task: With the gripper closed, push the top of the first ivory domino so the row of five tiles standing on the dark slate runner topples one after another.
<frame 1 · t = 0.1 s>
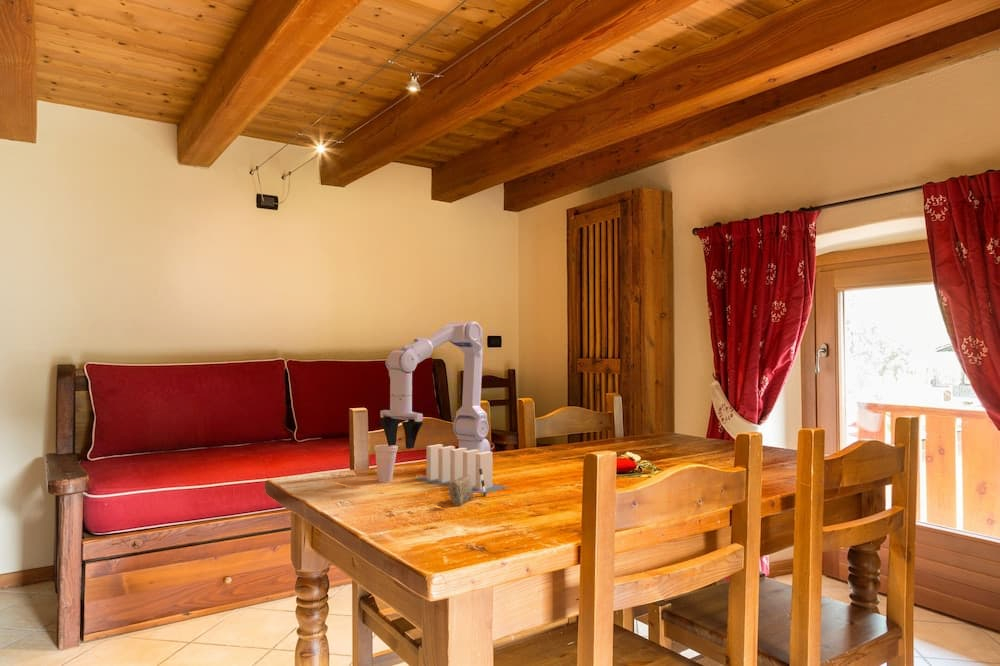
hand: (400, 446, 169), 10 cm above the table, tool pointing down, fingers open, 7 cm apart
runner mat: (458, 484, 170), on the table
domino 1: (434, 478, 175), resting on runner mat
domino 3: (458, 482, 170), resting on runner mat
domino 5: (484, 487, 164), resting on runner mat
domino 4: (471, 485, 167), resting on runner mat
smoothie: (384, 482, 172), on the table, touching gripper
cuneiform tablet: (467, 503, 151), on the table
domino 2: (446, 480, 172), resting on runner mat
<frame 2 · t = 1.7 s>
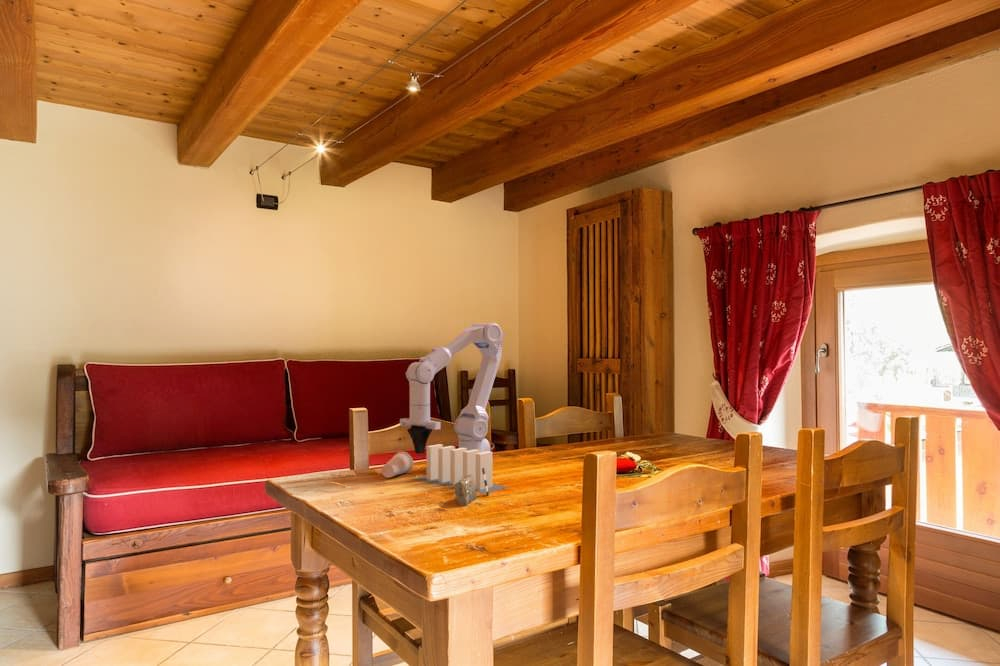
hand: (419, 453, 179), 7 cm above the table, tool pointing down, fingers closed
smoothie: (387, 471, 174), point 3 cm above the table
cuneiform tablet: (472, 502, 152), on the table
everything else where it was.
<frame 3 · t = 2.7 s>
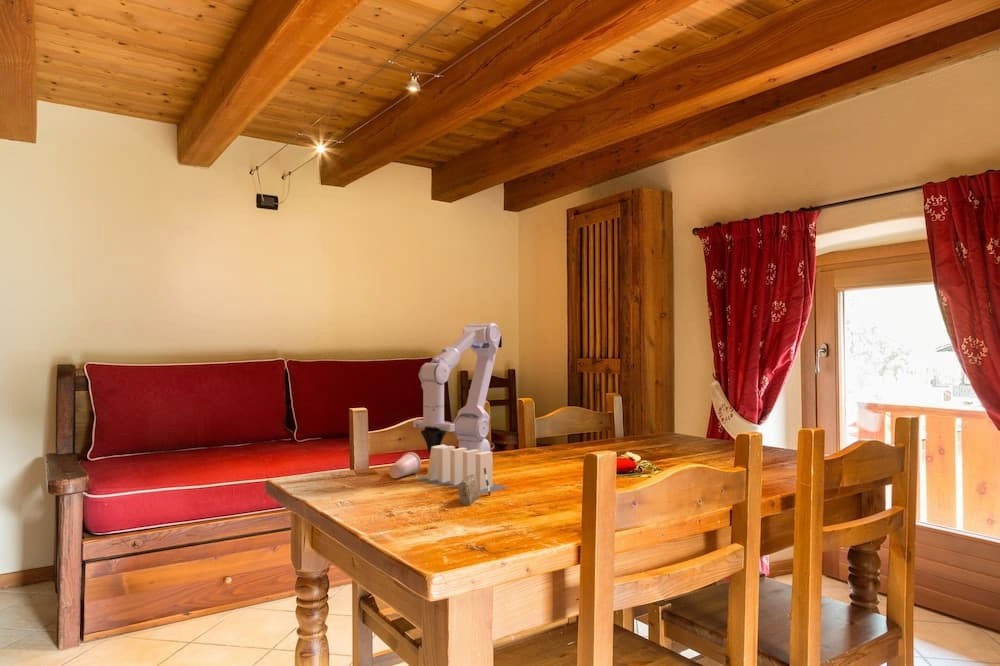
hand: (433, 455, 176), 7 cm above the table, tool pointing down, fingers closed
domino 1: (434, 477, 175), point 1 cm above the table, tilted 12°, touching runner mat
smoothie: (394, 471, 173), point 3 cm above the table
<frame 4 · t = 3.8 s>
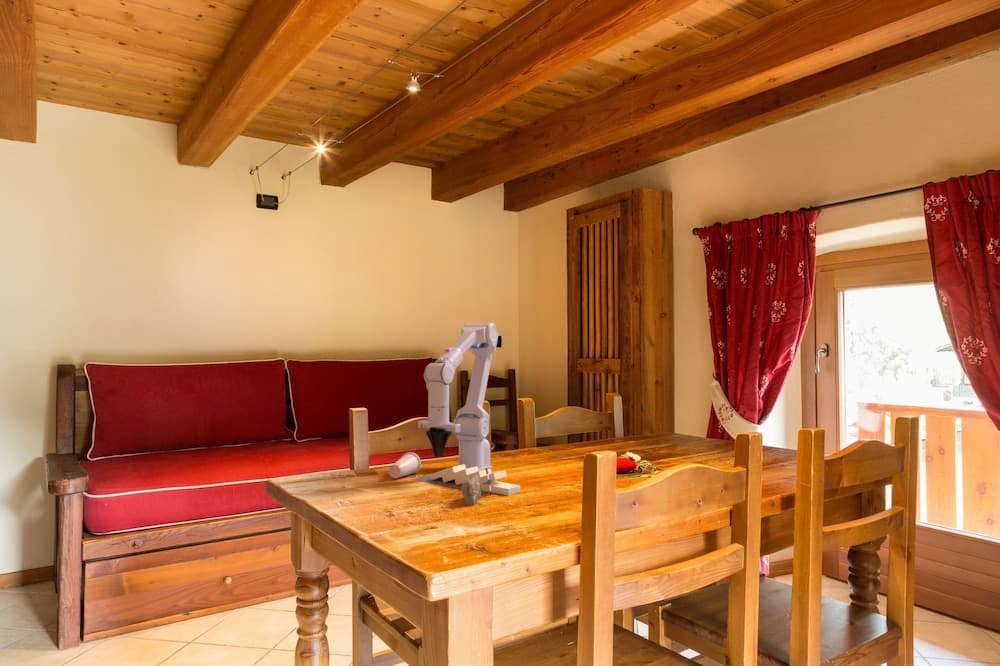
hand: (438, 456, 174), 7 cm above the table, tool pointing down, fingers closed
domino 1: (437, 475, 175), point 1 cm above the table, tilted 69°, touching domino 2, runner mat
domino 3: (461, 480, 169), point 1 cm above the table, tilted 69°, touching domino 2, domino 4, runner mat
domino 5: (487, 485, 163), point 1 cm above the table, tilted 90°, touching domino 4, runner mat
domino 4: (475, 482, 166), point 1 cm above the table, tilted 69°, touching domino 3, domino 5
domino 2: (449, 478, 172), point 1 cm above the table, tilted 69°, touching domino 1, domino 3, runner mat
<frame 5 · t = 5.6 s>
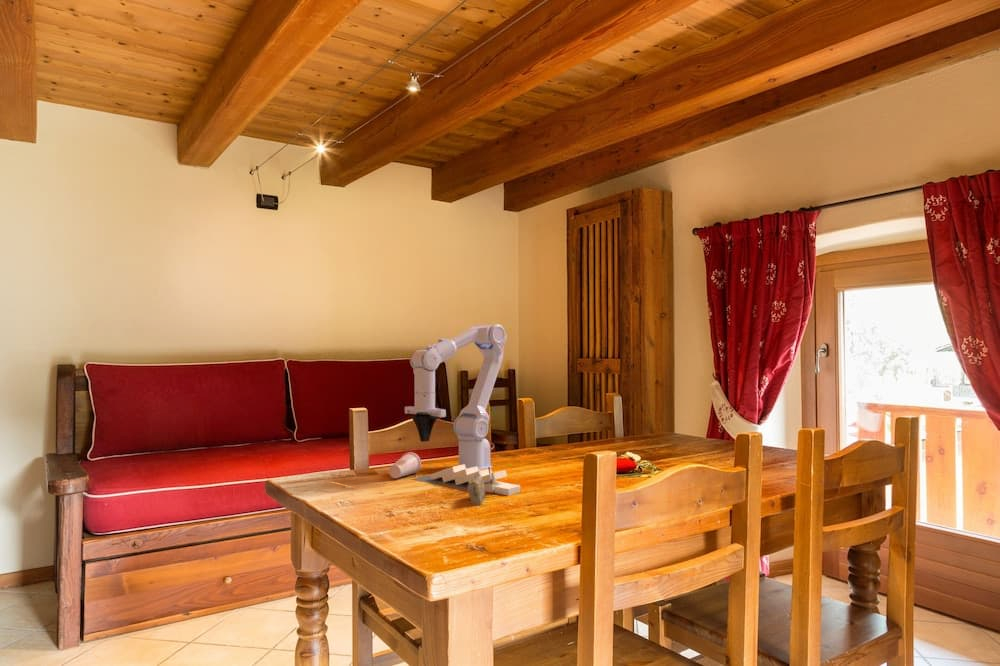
hand: (424, 441, 178), 10 cm above the table, tool pointing down, fingers closed
cuneiform tablet: (481, 502, 152), on the table
everything else where it was.
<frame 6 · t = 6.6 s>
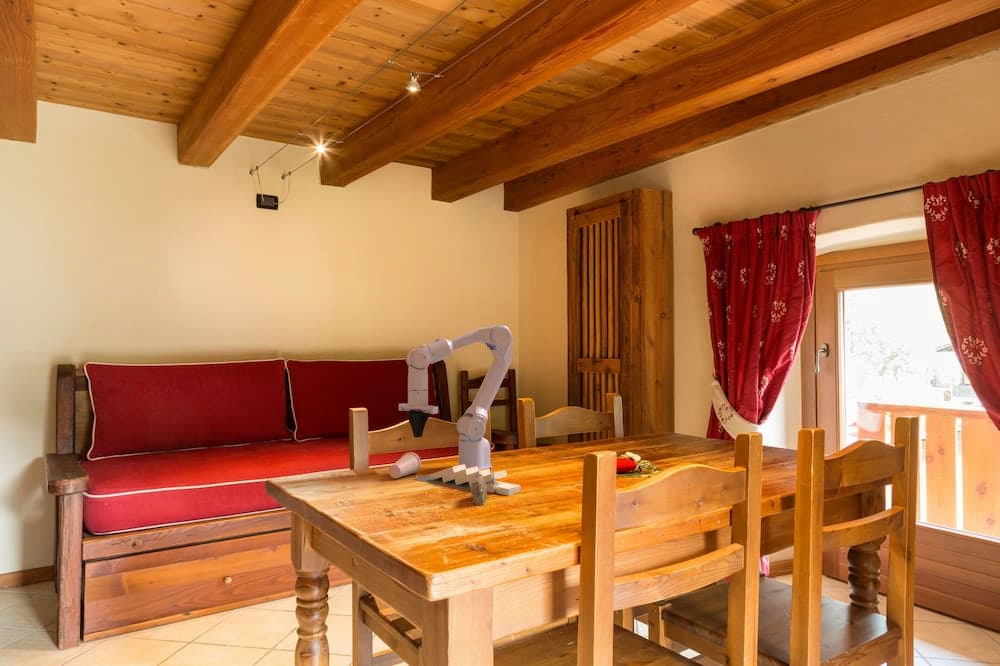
hand: (417, 437, 184), 10 cm above the table, tool pointing down, fingers closed
domino 1: (437, 475, 175), point 1 cm above the table, tilted 69°, touching domino 2
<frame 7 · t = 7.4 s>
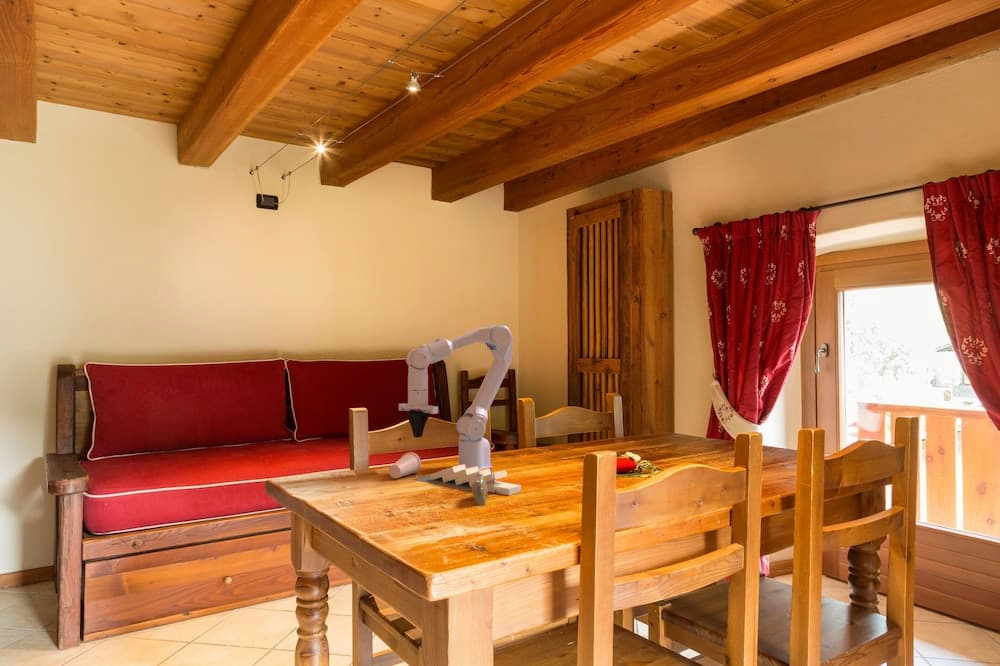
hand: (417, 437, 184), 10 cm above the table, tool pointing down, fingers closed
domino 1: (437, 475, 175), point 1 cm above the table, tilted 69°, touching domino 2, runner mat
domino 5: (487, 485, 163), point 1 cm above the table, tilted 90°, touching cuneiform tablet, domino 4, runner mat
cuneiform tablet: (484, 501, 153), on the table, touching domino 5
everything else where it was.
at the end: domino 5 tilted 90°; domino 1 tilted 69° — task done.
